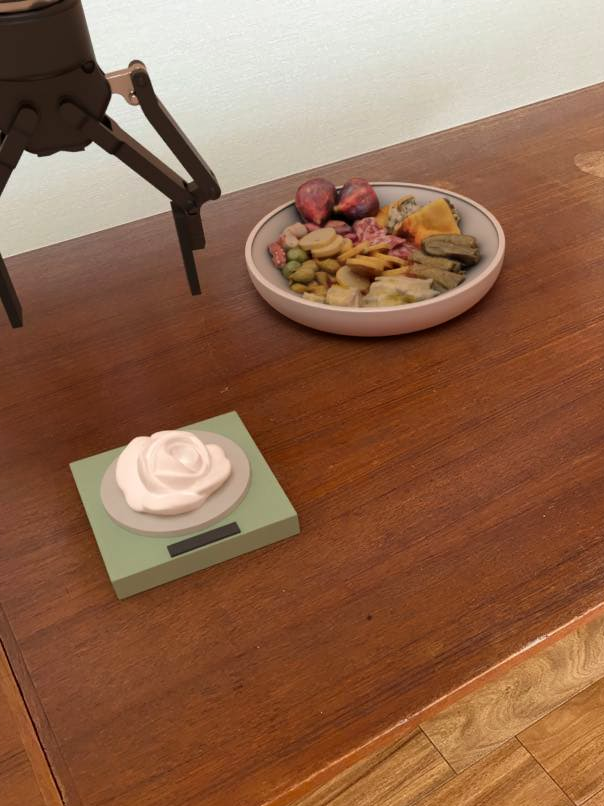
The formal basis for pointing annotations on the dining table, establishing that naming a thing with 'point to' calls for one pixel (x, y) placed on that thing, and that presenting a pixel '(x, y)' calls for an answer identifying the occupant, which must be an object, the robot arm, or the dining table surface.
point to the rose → (170, 472)
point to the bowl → (374, 256)
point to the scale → (186, 514)
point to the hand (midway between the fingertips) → (107, 302)
